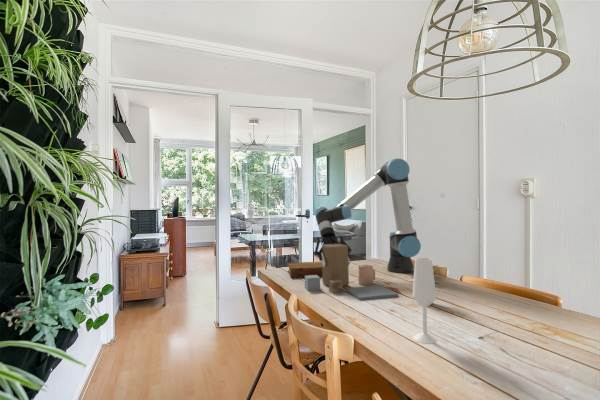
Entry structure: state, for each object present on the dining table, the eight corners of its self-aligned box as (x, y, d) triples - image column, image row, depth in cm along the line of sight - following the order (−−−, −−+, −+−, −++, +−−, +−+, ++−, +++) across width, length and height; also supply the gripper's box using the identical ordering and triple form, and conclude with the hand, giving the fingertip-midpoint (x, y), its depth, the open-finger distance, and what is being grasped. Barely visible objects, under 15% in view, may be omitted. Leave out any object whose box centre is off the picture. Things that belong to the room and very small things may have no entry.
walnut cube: (339, 290, 162) (338, 279, 162) (342, 292, 157) (342, 281, 157) (328, 290, 161) (328, 280, 161) (332, 293, 156) (332, 282, 156)
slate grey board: (381, 287, 164) (381, 285, 164) (398, 296, 148) (398, 293, 148) (345, 290, 160) (345, 288, 160) (359, 300, 144) (359, 297, 144)
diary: (290, 279, 188) (290, 268, 188) (287, 272, 207) (287, 262, 207) (331, 277, 191) (331, 266, 191) (325, 270, 210) (324, 260, 210)
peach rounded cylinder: (362, 286, 168) (361, 267, 168) (356, 283, 174) (356, 265, 174) (377, 285, 169) (377, 266, 169) (371, 281, 176) (371, 264, 176)
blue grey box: (316, 287, 168) (316, 274, 168) (320, 290, 162) (320, 277, 162) (304, 288, 167) (304, 275, 167) (307, 291, 161) (307, 278, 161)
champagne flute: (421, 332, 108) (419, 256, 108) (441, 339, 102) (439, 258, 103) (408, 338, 104) (407, 258, 104) (429, 345, 98) (427, 261, 98)
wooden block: (321, 284, 174) (321, 244, 174) (338, 281, 178) (338, 243, 178) (331, 288, 165) (331, 246, 165) (349, 285, 169) (348, 245, 169)
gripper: (346, 234, 189) (357, 267, 174) (303, 236, 184) (311, 270, 169) (349, 225, 184) (361, 258, 169) (306, 227, 179) (314, 261, 164)
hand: (336, 264), depth 169 cm, fingers open, 12 cm apart
